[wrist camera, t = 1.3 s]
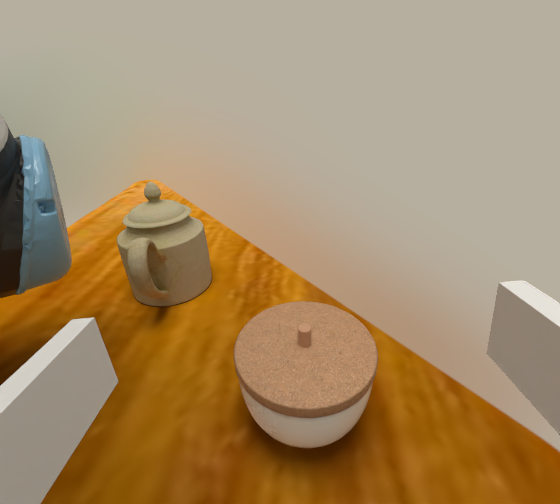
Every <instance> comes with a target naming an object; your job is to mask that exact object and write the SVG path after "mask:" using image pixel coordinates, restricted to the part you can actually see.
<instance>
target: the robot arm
mask: <svg viewBox="0 0 560 504" xmlns="http://www.w3.org/2000/svg"><path fill="white" fill-rule="evenodd" d="M71 262H72V259H71V250H70V244H69V239H68V233H67V228H66V224H65V219H64V214H63V209H62V205H61V201H60V196H59V192H58V188H57V184H56V180H55V175H54V171H53V168H52V164H51V161H50V157H49V154H48V151H47V149H46V147H45V144H44V142H43V141H42V140H40V139H39V138H35V137H34V138H33V137H28V136H24V135H21V136H19V137H17V138H13V135H12V134H11V132H10V130H9V128H8V126H7V124H6V122H5V120H4V119H3V117H2V116H1V115H0V298H3V297H7V296H11V295H15V294H16V295H19V294H22V293H24V292H25V291H26V290H28V289H32V288H35V287H38V286H41V285H44V284H47V283H51V282H54V281H57V280H59V279H61V278H62V277H63V276H64V275H66V274H67V272H68V271H69V269H70V267H71ZM487 354H488V355H489V356H490V357H491V358H492V360H493V361H494V362H495V363H496V364H497V365H498V366H499V367H500V368H501V370H502V371H503V372H504V373H505V374H506V375H507V376H508V378H509V379H510V380H511V381H512V382H513V383H514V384H515V385H516V386H517V387H518V389H519V390H520V391H521V392H522V393H523V394H524V395H525V397H526V398H527V399H528V400H529V401H530V402H531V403H532V404H533V406H534V407H535V408H536V409H537V410H538V411H539V412H540V413H541V414H542V416H543V417H544V418H545V419H546V420H547V421H548V422H549V423H550V425H551V426H552V427H553V428H554V429H555V430H556V431H557V432H558V433H559V435H560V303H558V302H557V301H555V300H554V299H552V298H551V297H549V296H548V295H546V294H544V293H543V292H541V291H539V290H538V289H537V288H535V287H534V286H532V285H530V284H529V283H527V282H526V281H524V280H521V281H510V282H499V284H498V290H497V296H496V302H495V308H494V314H493V319H492V325H491V332H490V338H489V343H488V349H487ZM117 383H118V379H117V376H116V374H115V371H114V368H113V366H112V363H111V360H110V358H109V355H108V352H107V350H106V347H105V344H104V342H103V339H102V336H101V334H100V331H99V329H98V326H97V323H96V321H95V318H83V319H72V320H71V321H70V322H69V323H68V324H67V325H66V326H65V327H63V328H62V329H61V330H60V331H59V332H58V333H57V334H56V335H55V336H54V337H53V338H52V339H50V340H49V341H48V342H47V343H46V344H45V345H44V346H43V347H42V348H41V349H40V350H39V351H38V352H36V353H35V354H34V355H33V356H32V357H31V358H30V359H29V360H28V361H27V362H26V363H25V364H23V365H22V366H21V367H20V368H19V369H18V370H17V371H16V372H15V373H14V374H13V375H12V376H10V377H9V378H8V379H7V380H6V381H5V382H4V383H3V384H2V385H1V386H0V504H40V503H41V502H42V500H43V499H44V497H45V496H46V494H47V493H48V491H49V489H50V488H51V486H52V485H53V483H54V482H55V480H56V478H57V477H58V475H59V474H60V472H61V471H62V469H63V468H64V466H65V464H66V463H67V461H68V460H69V458H70V457H71V455H72V453H73V452H74V450H75V449H76V447H77V446H78V444H79V442H80V441H81V439H82V438H83V436H84V435H85V433H86V432H87V430H88V428H89V427H90V425H91V424H92V422H93V421H94V419H95V417H96V416H97V414H98V413H99V411H100V410H101V408H102V407H103V405H104V403H105V402H106V400H107V399H108V397H109V396H110V394H111V392H112V391H113V389H114V388H115V386H116V385H117Z"/></svg>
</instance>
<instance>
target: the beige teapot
mask: <svg viewBox="0 0 560 504" xmlns="http://www.w3.org/2000/svg"><path fill="white" fill-rule="evenodd" d="M144 195H145V197H146V198H147V199H148V200H149V201H148V202H145V203H142V204H140V205H138V206H136V207H134V208H133V209H132V210H131V211H130V213H129V214H127V215H126V216H125V217H124V218H123V224H124V225H126V226H127V228H126V229H125V230H123V231H122V232H121V233H120V234H119V235H118V237H117V244H118V248H119V251H120V255H121V258H122V261H123V264H124V267H125V270H126V273H127V276H128V279H129V282H130V285H131V288H132V290H133V293H134V296H135V298H136V299H137V300H138V301H139V302H141V303H144V304H146V305H150V306H171V305H176V304H180V303H183V302H186V301H189V300H191V299H193V298H195V297H197V296H198V295H200V294H201V293H203V292H204V291H205V290H206V289H207V288H208V286H209V285H210V283H211V280H212V274H211V267H210V260H209V253H208V246H207V241H206V236H205V231H204V227H203V223H202V222H201V221H200V220H198V219H196V218H193V217H190V216H189V214H190V213H191V209H190V208H189V207H187V206H185V205H183V204H180V203H178V202H176V201H172V200H160V199H159V197H160V195H161V191H160V189H159V188H158V186H156V185H155V184H154V183H153V182H148V183H147V185H146V187H145V189H144Z"/></svg>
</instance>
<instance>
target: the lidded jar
mask: <svg viewBox="0 0 560 504" xmlns="http://www.w3.org/2000/svg"><path fill="white" fill-rule="evenodd" d="M234 362H235V368H236V373H237V376H238V378H239V383H240V388H241V392H242V395H243V398H244V400H245V403H246V405H247V408H248V410H249V411H250V413H251V415H252V416H253V418H254V420H255V421H256V423H257V424H258V425H259V426H260V427H261V428H262V429H263V430H264V431H265V432H266V433H267V434H269V435H270V436H271V437H272V438H274V439H276V440H278V441H279V442H281V443H284V444H287V445H290V446H294V447H299V448H316V447H322V446H325V445H328V444H331V443H333V442H335V441H337V440H339V439H340V438H341V437H343V436H344V435H345V434H347V433H348V432H349V431H350V430H351V429H352V428H353V427H354V426H355V425H356V423H357V422H358V420H359V418H360V417H361V415H362V413H363V412H364V410H365V407H366V405H367V402H368V399H369V396H370V394H371V389H372V384H373V380H374V378H375V375H376V369H377V362H378V354H377V348H376V344H375V342H374V340H373V338H372V336H371V334H370V333H369V331H368V330H367V329H366V327H365V326H364V325H363V324H362V323H361V322H360V321H359V320H357V319H356V318H355V317H353V316H352V315H351V314H349V313H347V312H345V311H343V310H341V309H339V308H337V307H334V306H330V305H327V304H322V303H318V302H290V303H285V304H280V305H277V306H274V307H271V308H269V309H266V310H264V311H263V312H261V313H259V314H258V315H256V316H255V317H254V318H252V319H251V320H250V321H249V322H248V323H247V324H246V325H245V326H244V328H243V329H242V330H241V332H240V333H239V335H238V338H237V340H236V343H235V347H234Z"/></svg>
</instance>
